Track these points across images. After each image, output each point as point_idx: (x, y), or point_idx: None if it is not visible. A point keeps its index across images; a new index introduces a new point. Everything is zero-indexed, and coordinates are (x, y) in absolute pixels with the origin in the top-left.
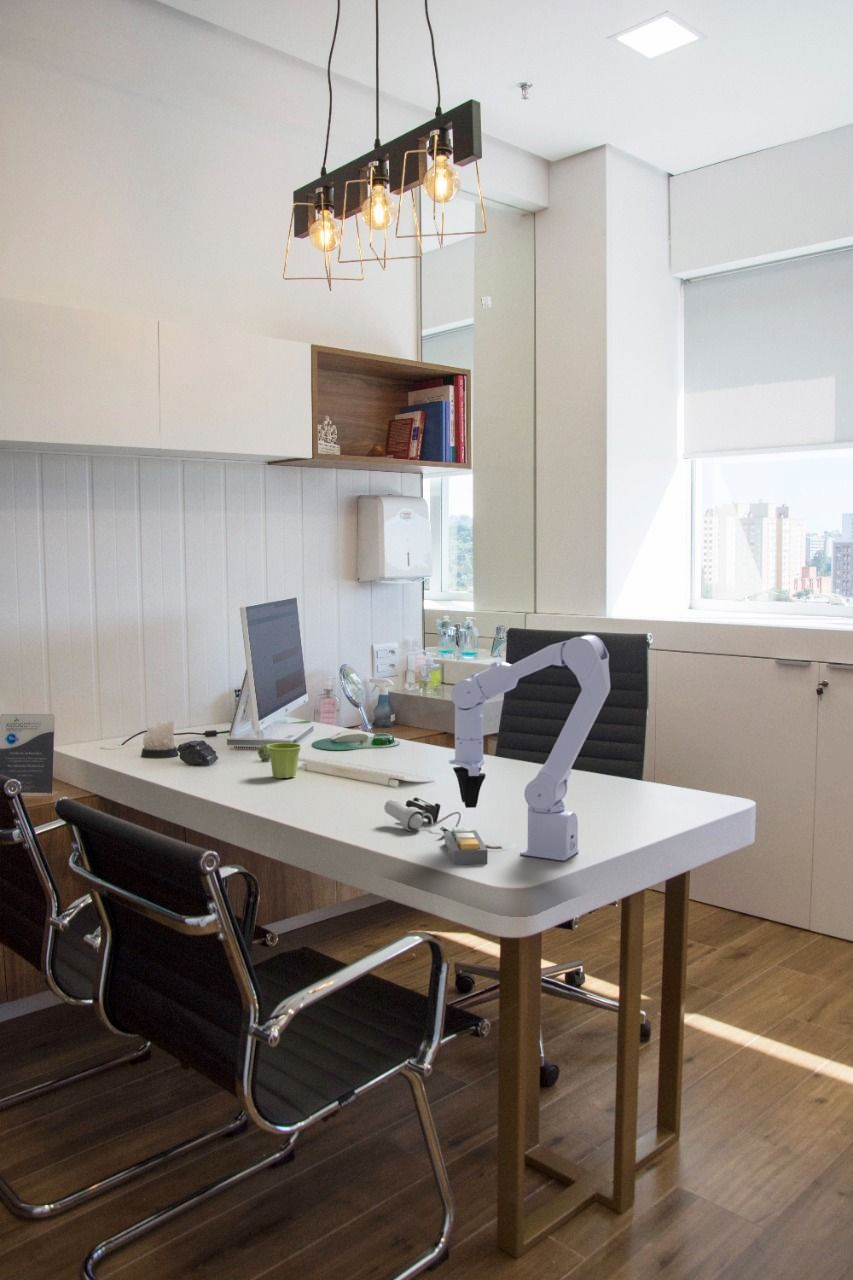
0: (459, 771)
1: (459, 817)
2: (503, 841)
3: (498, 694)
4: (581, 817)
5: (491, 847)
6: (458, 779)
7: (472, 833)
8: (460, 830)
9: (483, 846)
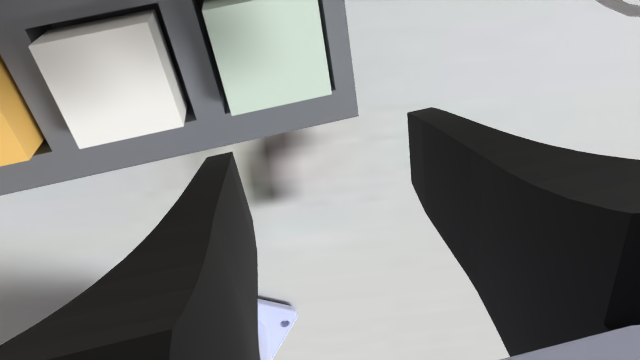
0: (600, 274)
1: (624, 6)
2: (368, 200)
3: None
4: None
5: (265, 164)
6: (527, 185)
7: (165, 126)
8: (231, 48)
9: (3, 185)
